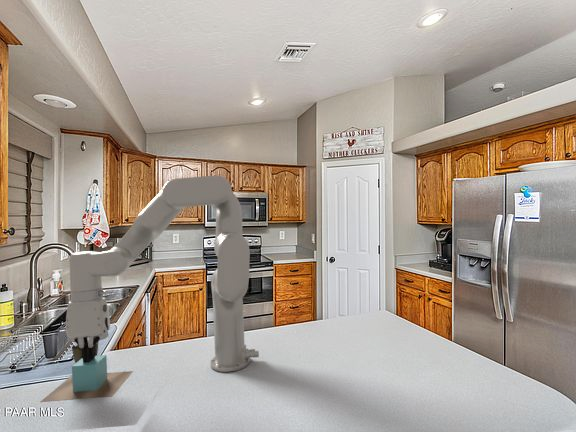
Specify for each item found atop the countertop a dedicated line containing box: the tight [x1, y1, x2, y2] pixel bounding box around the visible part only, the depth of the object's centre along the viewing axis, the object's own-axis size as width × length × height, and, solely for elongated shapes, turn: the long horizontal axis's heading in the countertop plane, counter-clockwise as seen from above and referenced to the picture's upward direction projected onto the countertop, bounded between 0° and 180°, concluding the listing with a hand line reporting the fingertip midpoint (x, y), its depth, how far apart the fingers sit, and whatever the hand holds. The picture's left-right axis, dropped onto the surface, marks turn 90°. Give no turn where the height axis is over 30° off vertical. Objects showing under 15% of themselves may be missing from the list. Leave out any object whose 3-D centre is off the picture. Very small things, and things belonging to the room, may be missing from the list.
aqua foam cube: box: [71, 354, 108, 392], centre depth 92 cm, size 6×6×7 cm
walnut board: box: [39, 370, 134, 403], centre depth 92 cm, size 18×14×2 cm
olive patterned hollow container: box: [71, 340, 100, 364], centre depth 107 cm, size 8×7×8 cm
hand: (89, 360), depth 92 cm, fingers closed
